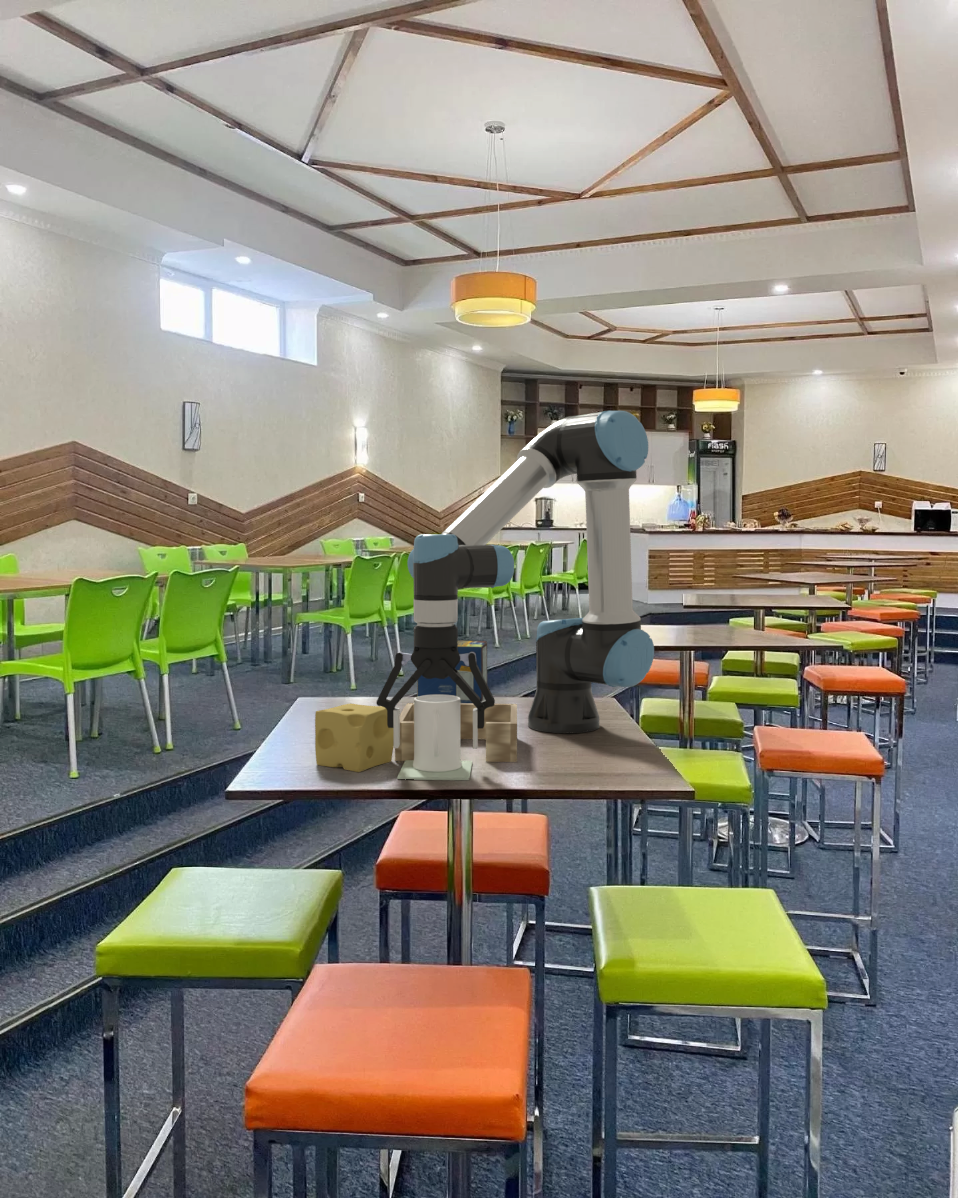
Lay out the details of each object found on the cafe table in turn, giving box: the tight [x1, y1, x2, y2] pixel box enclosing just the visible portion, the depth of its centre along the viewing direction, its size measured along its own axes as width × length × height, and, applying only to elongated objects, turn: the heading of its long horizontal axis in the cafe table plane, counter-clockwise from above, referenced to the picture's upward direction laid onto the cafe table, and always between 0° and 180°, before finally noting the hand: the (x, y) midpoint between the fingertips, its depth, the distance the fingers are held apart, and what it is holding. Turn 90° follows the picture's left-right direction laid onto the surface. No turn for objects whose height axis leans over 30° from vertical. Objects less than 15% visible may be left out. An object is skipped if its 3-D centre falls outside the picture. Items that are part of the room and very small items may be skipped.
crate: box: [394, 702, 518, 763], centre depth 181 cm, size 22×20×7 cm
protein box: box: [416, 640, 488, 703], centre depth 224 cm, size 10×15×16 cm
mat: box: [396, 760, 473, 781], centre depth 165 cm, size 12×12×1 cm
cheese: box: [314, 703, 394, 773], centre depth 171 cm, size 10×11×10 cm
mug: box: [413, 695, 462, 772], centre depth 165 cm, size 12×8×12 cm
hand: (436, 747), depth 165 cm, fingers open, 13 cm apart
